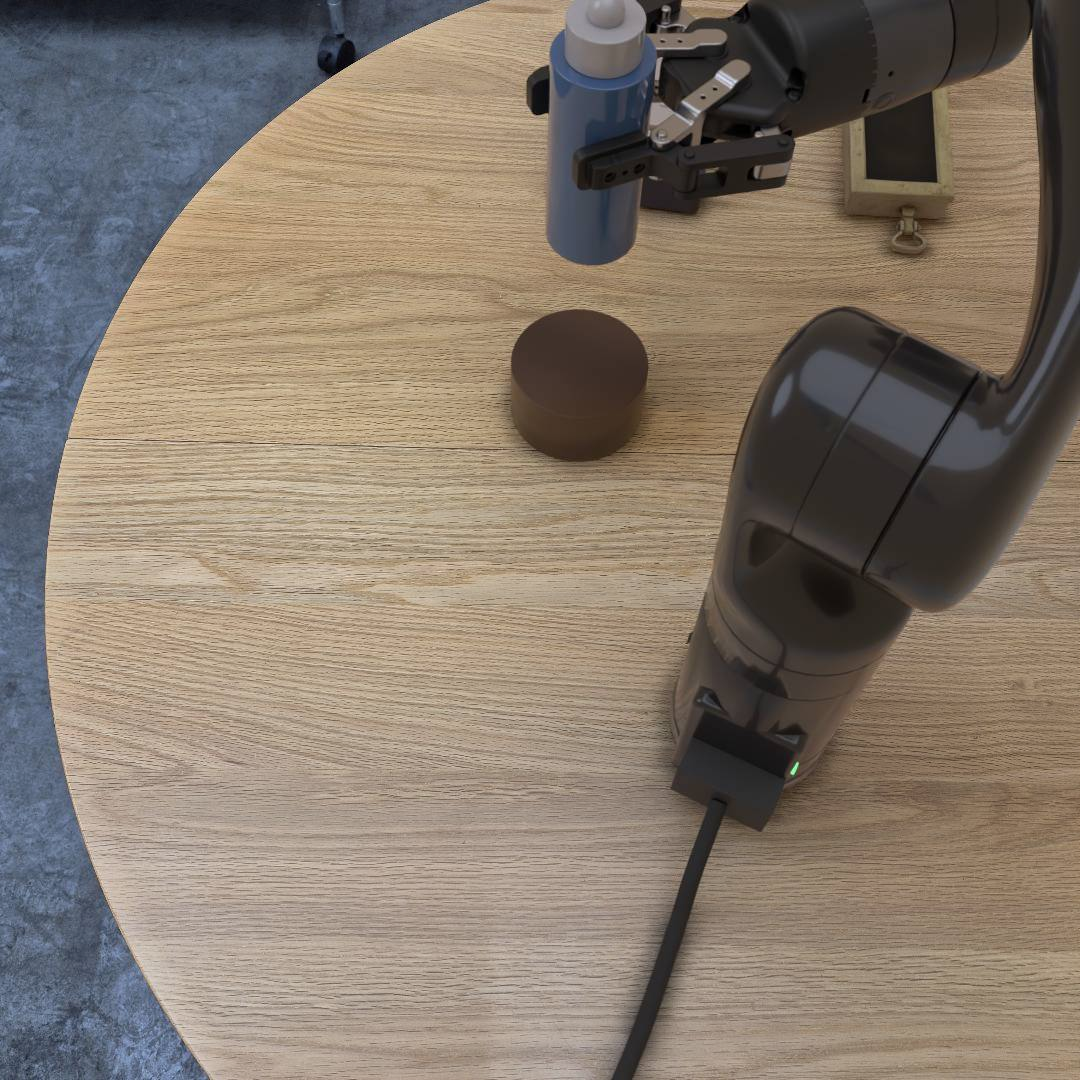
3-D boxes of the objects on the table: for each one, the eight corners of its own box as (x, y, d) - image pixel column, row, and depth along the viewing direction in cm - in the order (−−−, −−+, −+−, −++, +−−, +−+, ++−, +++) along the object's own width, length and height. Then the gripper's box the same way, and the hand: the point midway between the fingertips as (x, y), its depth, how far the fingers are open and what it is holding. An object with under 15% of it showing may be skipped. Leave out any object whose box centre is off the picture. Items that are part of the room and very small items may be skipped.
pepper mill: (613, 278, 67) (635, 44, 53) (529, 246, 68) (531, 9, 54) (651, 217, 69) (682, -22, 56) (569, 186, 70) (580, -55, 57)
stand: (608, 481, 80) (613, 438, 75) (488, 430, 82) (486, 385, 77) (662, 384, 84) (670, 338, 80) (546, 338, 86) (548, 290, 81)
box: (924, 41, 100) (942, -5, 96) (946, 273, 93) (967, 236, 88) (824, 38, 100) (838, -8, 96) (838, 271, 93) (854, 233, 88)
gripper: (789, -95, 64) (495, -18, 61) (936, 74, 58) (617, 171, 54) (764, 27, 71) (498, 103, 67) (893, 190, 64) (606, 284, 61)
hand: (553, 133), depth 61 cm, fingers closed on pepper mill, 5 cm apart
